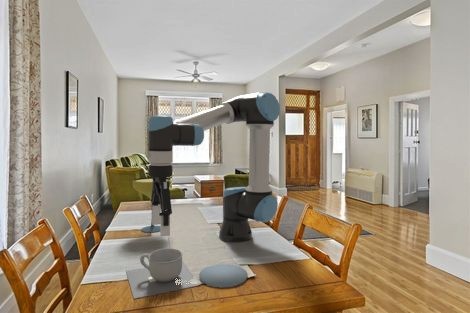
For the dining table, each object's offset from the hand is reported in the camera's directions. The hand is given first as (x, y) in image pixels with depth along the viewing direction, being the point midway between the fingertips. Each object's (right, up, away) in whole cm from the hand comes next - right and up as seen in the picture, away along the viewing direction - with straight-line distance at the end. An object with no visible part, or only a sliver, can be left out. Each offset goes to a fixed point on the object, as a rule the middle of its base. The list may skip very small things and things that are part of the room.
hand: (160, 229), depth 101 cm
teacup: (0, -16, +1) cm, 16 cm away
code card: (0, -16, +1) cm, 16 cm away
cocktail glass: (-17, -13, +54) cm, 58 cm away
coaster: (+20, -16, +3) cm, 26 cm away
